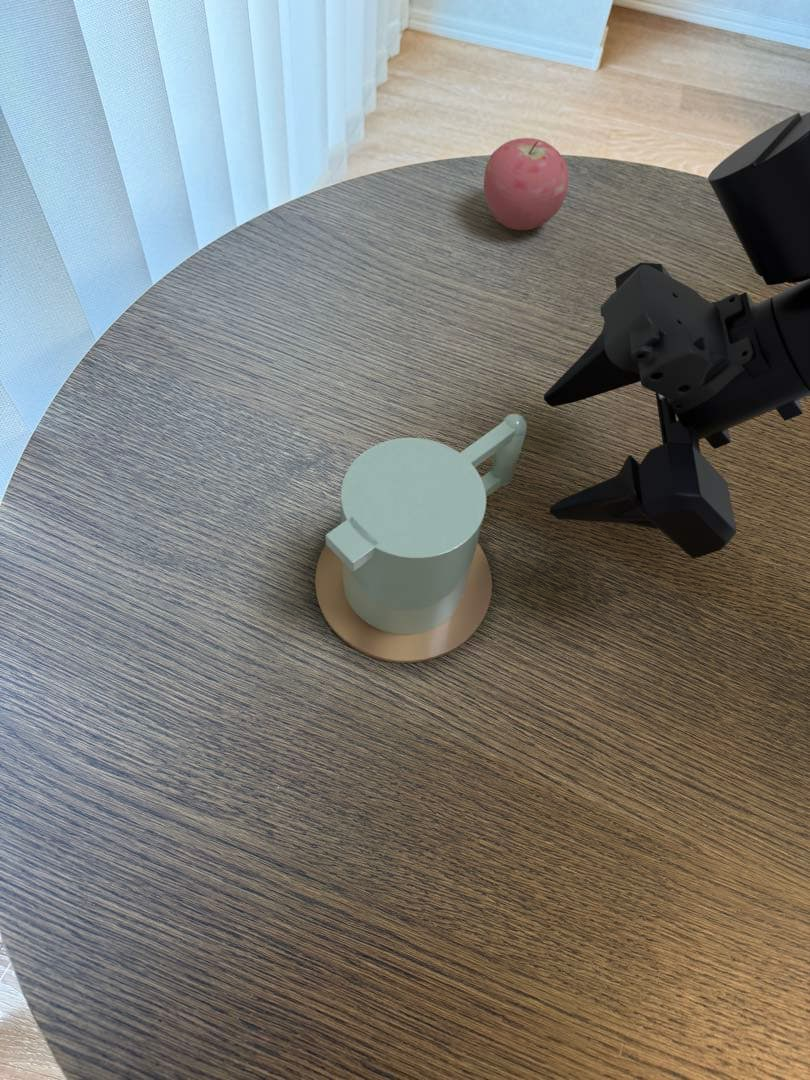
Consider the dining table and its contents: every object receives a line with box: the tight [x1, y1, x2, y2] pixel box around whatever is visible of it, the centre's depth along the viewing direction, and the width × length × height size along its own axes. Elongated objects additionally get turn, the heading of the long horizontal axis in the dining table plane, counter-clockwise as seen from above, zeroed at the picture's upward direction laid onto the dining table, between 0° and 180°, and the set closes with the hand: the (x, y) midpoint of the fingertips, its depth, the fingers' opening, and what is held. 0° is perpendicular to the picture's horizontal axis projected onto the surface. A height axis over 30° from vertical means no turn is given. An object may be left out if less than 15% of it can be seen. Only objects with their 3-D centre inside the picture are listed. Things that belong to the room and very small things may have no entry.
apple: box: [483, 137, 570, 231], centre depth 73 cm, size 7×7×8 cm
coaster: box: [314, 542, 493, 664], centre depth 56 cm, size 12×12×1 cm
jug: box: [324, 413, 528, 635], centre depth 52 cm, size 15×8×10 cm, turn 132°
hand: (549, 454), depth 54 cm, fingers open, 9 cm apart
